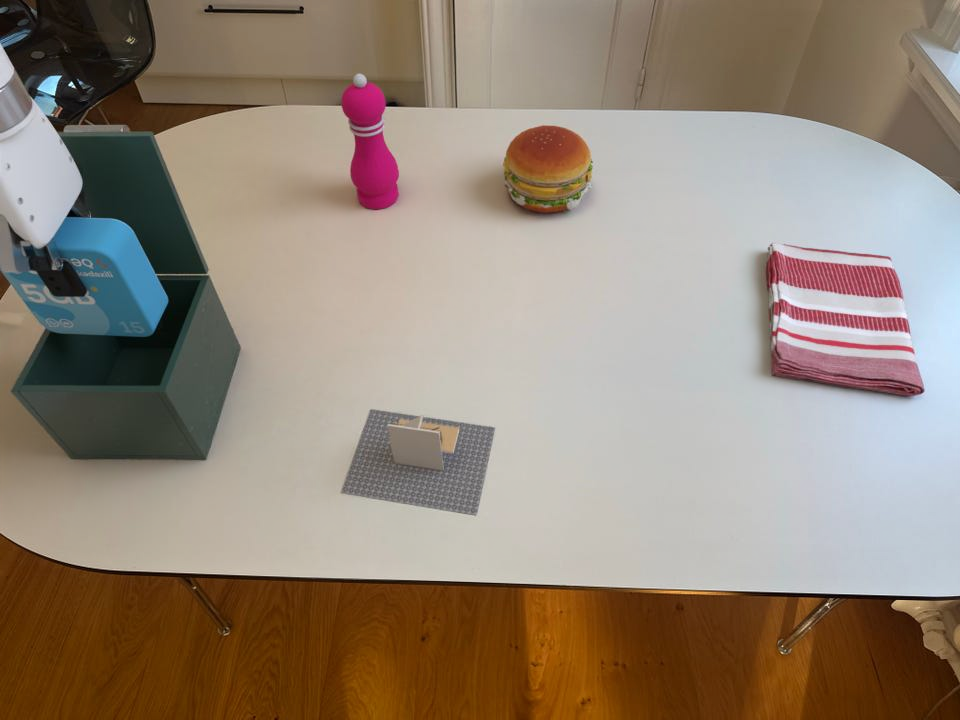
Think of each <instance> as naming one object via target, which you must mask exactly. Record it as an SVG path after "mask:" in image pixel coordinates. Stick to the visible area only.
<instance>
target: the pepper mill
mask: <svg viewBox="0 0 960 720" xmlns="http://www.w3.org/2000/svg"><path fill="white" fill-rule="evenodd" d="M352 81H353V83H352V84H350V85H348V86H347V87H346V88H345V89H344V91H343V93H342V95H341V100H340V101H341V109H342V112H343V114H344V115H345V116H346V118H347V120H348V125H349V126H348V128H349V131H350V132H351V133H352V134H353V137H354V152H353V156H352V159H351V162H350V170H349V172H350V179H351V182H352V184H353V185H354V186H355V188H356V193H357V199H358V202H359V204H360V205H361V206H363V207H364V208H366V209H370V210H383V209H386V208H389V207H391V206H393V205H394V204H395V203H396V202H397V201H398V199H399V196H400V195H399V194H400V193H399V188H398V183H397V182H398V180H399V178H400V170H399V166H398V163H397V160H396V157H395V156H394V155H393V154H392V152H391V151H390V149H389V147H388V146H387V143H386V141H385V137H384V130H385V127H386V122H385V116H384V115H383V114H384V113H385V110H386V107H387V104H386V98H385V95H384V93H383V91H382V89H381V88H380V87H379V86H377V85H376V84H374V83H372V82H369V81H368V80H367V78H366V76H365V75H364V74H362V73H356V74H354V76H353V80H352Z"/></svg>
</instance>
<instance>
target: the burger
mask: <svg viewBox="0 0 960 720" xmlns="http://www.w3.org/2000/svg"><path fill="white" fill-rule="evenodd" d="M593 163H594V161H593V160H592V153H591V150H590V148H589V146H588V144H587V142H586V140H584V138H582V137H581V136H580V135H579V134H578V133H576V132H575V131H573V130H571V129H568V128H567V127H562V126H557V125H545V124H544V125H539V126H535V127H531V128H528V129H526V130H523V131H522V132H520V133H519V134H518V135H516V136H514V138H513V139H512V140H511V142H510V143H509V145H508V146H507V149H506V151H505V156H504V158H503V163H502V166H503V171H504V187H506V189H507V192H508V193H509V195H510V196H511V199H512V200H513V201H514V202H515V203H516V204H517V205H519V206H521V207H522V208H524V209H526V210H529V211H533V212H535V213H536V212H538V213H544V214H545V213H558V212H562V211H565V210H569V211H574V210H575V209H576V208H577V207H578V205H579V204H580V203H581V202H582V199H583V197H584V195H585V194H586V193H588V192H589V191H590V190H591V189H592V183H591V179H592V172H593V168H594V167H593Z"/></svg>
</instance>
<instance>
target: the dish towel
mask: <svg viewBox="0 0 960 720" xmlns="http://www.w3.org/2000/svg"><path fill="white" fill-rule="evenodd" d="M767 251H768V256H767V261H766V267H765V273H766V274H765V276H766V284H767V291H768V320H769V338H770V356H771V358H770V359H771V376H773V377H782V378H785V379H786V378H787V379H796V380H803V381H807V382H813V383H820V384H825V385H831V386H837V387H843V388H851V389H858V390H866V391H867V390H868V391H875V392H880V393H889V394H895V395H901V396H903V395H904V396H909V397H915V396H920V395H922V394H924V393H925V384H924V381H923V379H922V376H921V372H920V369H919V365H918V362H917V358H916V354H915V349H914V345H913V342H912V335H911V329H910V323H909V320H908V319H909V318H908V314H907V310H906V306H905V302H904V301H905V300H904V294H903V290H902V287H901V283H900V278H899V276H898V274H897V272H896V270H895V267H894V264H893V263H894V262H893V259H892V258H891V256H887V255H881V254H871V253H857V252H848V251H841V250H833V249H832V250H831V249H823V248H822V249H821V248H814V247H813V248H812V247H801V246H797V245H791V244H786V243H779V242H772V243H771V244H769V246H768V247H767Z"/></svg>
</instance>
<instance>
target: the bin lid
mask: <svg viewBox="0 0 960 720" xmlns="http://www.w3.org/2000/svg"><path fill="white" fill-rule="evenodd" d="M56 132H57V133H58V135H59V136H60V138H61V139H62V141H63V143H64V144H65V146H66V148H67V149H68V151H69V153H70V155H71V156H72V158H73V160H74V162H75V163H77V164H79V165H81V167H82V169H83V185H82V188H83V190H84V192H85V206H86V207H87V208H88V209H89V211H90V213H91V218H109V219H116V220H119V221H122V222H124V223H125V224H127V225H128V226H129V227H130V228H131V229H132V230H133V231H134V233H135V235H136V237H137V239H138V241H139V243H140V245H141V247H142V249H143V251H144V253H145V254H146V256H147V258H148V260H149V262H150V264H151V266H152V268H153V270H154V272H155V274H156V275H208V273H209V271H210V268H209V266H208V264H207V262H206V259H205V257H204V254H203V252H202V249H201V246H200V245H199V242H198V239H197V237H196V234H195V232H194V229H193V228H192V225H191V222H190V219H189V218H188V217H189V216H188V215H187V212H186V211H185V208H184V206H183V203H182V200H181V198H180V195H179V192H178V191H177V188H176V186H175V183H174V181H173V178H172V176H171V173H170V171H169V169H168V166H167V164H166V161H165V159H164V157H163V154H162V151H161V149H160V147H159V146H160V145H158V142H157V139H156V136H155V134H154V132H153V131H131V129H130V127H129V126H128V125H126V124H69V125H68V124H67V125H65V126H64V128H63V131H56Z"/></svg>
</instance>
